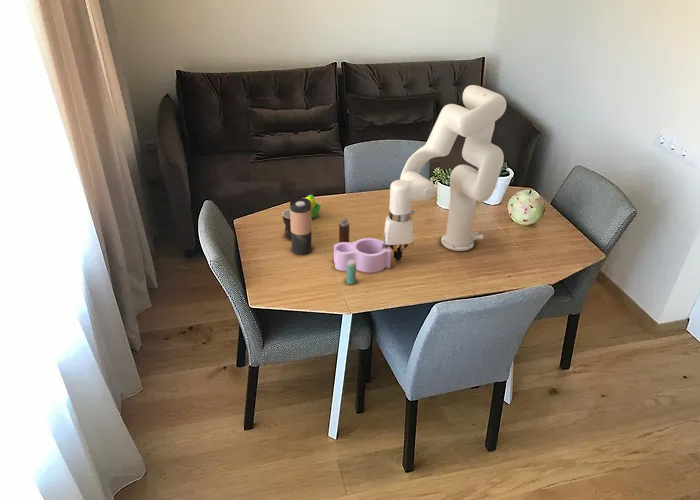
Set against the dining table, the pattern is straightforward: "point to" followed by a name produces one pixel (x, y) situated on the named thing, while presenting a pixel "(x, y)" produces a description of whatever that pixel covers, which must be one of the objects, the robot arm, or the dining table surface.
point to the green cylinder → (351, 272)
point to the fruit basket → (313, 206)
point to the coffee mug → (287, 223)
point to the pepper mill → (344, 231)
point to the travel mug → (301, 225)
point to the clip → (363, 255)
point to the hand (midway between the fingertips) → (397, 258)
